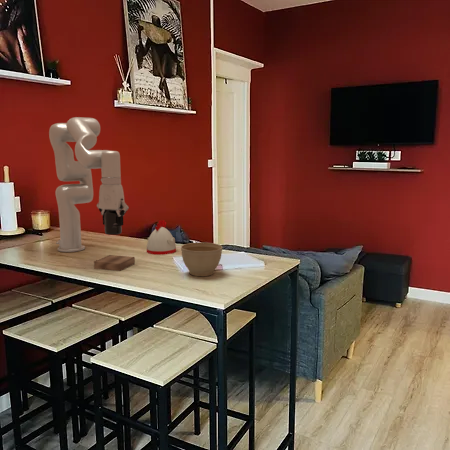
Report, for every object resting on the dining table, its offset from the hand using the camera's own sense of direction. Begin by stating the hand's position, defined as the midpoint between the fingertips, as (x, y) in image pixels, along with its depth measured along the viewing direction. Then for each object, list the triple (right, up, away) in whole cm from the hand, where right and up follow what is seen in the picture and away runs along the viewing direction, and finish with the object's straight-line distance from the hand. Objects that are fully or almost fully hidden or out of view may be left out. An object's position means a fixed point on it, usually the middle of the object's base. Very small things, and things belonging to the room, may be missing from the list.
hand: (113, 224), depth 191 cm
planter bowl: (+37, -19, -8) cm, 43 cm away
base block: (0, -17, +3) cm, 18 cm away
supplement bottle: (0, -4, +1) cm, 4 cm away
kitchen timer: (+16, -13, +30) cm, 37 cm away
